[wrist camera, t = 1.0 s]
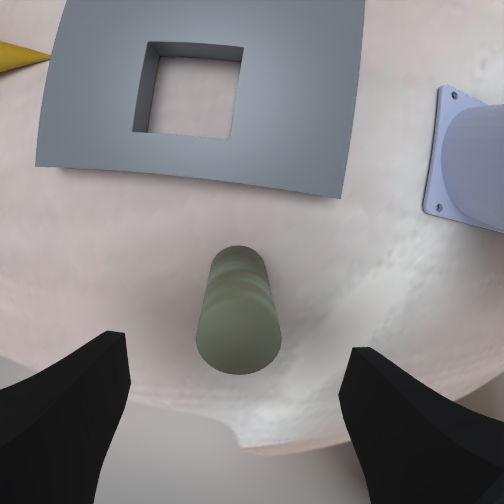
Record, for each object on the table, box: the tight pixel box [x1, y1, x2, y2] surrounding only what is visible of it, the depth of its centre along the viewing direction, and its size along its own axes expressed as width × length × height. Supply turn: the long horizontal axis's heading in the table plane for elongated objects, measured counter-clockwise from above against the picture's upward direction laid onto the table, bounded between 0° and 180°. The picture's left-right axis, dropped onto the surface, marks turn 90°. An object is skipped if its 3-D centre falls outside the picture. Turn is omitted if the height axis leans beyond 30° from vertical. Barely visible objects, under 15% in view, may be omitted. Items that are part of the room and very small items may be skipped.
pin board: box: [35, 0, 365, 199], centre depth 13 cm, size 15×17×2 cm
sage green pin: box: [196, 246, 281, 375], centre depth 15 cm, size 3×3×7 cm
